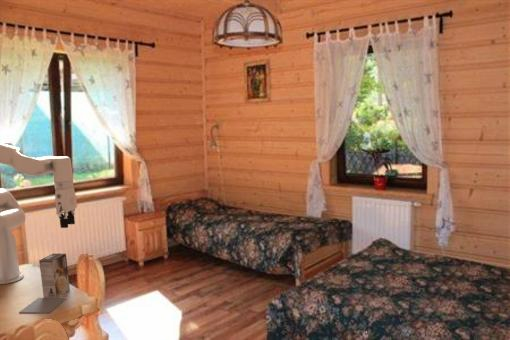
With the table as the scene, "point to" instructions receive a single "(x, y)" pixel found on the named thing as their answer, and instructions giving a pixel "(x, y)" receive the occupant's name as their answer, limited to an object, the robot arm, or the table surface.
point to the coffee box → (54, 275)
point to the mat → (43, 305)
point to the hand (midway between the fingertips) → (67, 225)
